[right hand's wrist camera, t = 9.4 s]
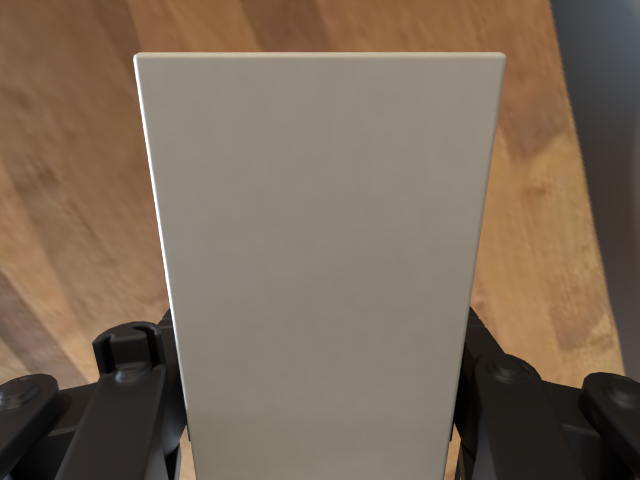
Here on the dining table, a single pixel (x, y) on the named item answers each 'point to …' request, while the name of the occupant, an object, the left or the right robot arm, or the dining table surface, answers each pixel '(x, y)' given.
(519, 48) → the dining table surface
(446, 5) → the dining table surface
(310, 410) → the post
